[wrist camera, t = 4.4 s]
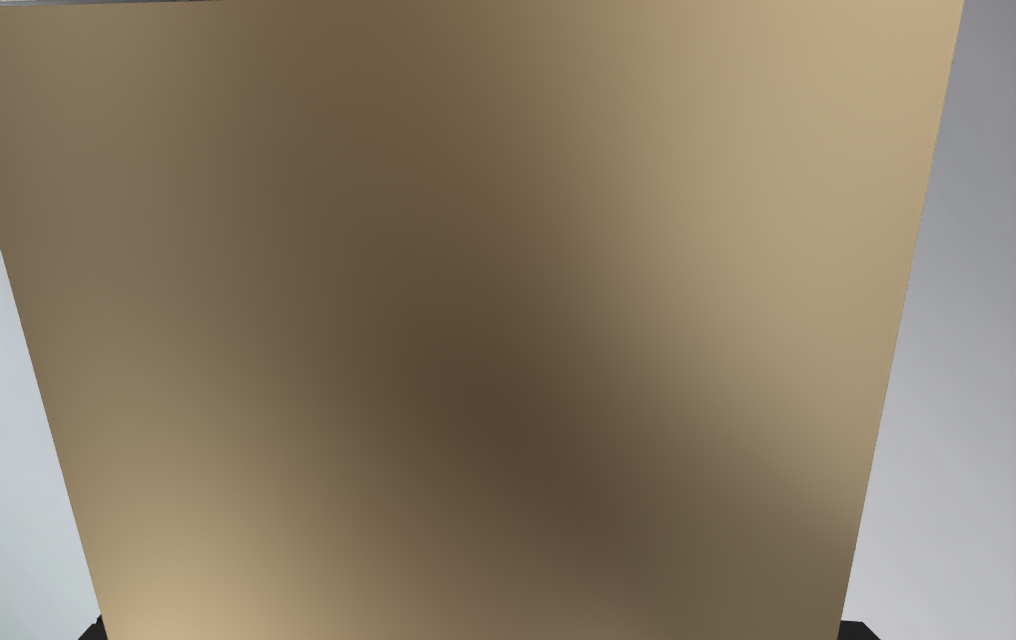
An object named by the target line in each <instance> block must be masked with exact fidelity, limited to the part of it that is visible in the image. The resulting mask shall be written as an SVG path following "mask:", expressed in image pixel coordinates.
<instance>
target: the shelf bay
mask: <svg viewBox="0 0 1016 640" xmlns="http://www.w3.org/2000/svg"><path fill="white" fill-rule="evenodd" d="M5 1H35V0H0V2H5Z"/></svg>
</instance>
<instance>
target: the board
mask: <svg viewBox="0 0 1016 640" xmlns="http://www.w3.org/2000/svg"><path fill="white" fill-rule="evenodd" d="M963 5H964V0H217V1H181V2H145V3H108V4H72V5H36V6H0V249H1V252H2V256H3V259H4V263H5V267H6V270H7V274H8V278H9V281H10V285H11V289H12V292H13V296H14V299H15V303H16V307H17V310H18V314H19V318H20V321H21V325H22V328H23V332H24V336H25V339H26V343H27V347H28V350H29V354H30V358H31V361H32V365H33V368H34V372H35V376H36V379H37V383H38V387H39V390H40V394H41V398H42V401H43V405H44V408H45V412H46V416H47V419H48V423H49V427H50V430H51V434H52V437H53V441H54V445H55V448H56V452H57V456H58V459H59V463H60V467H61V470H62V474H63V477H64V481H65V485H66V488H67V492H68V496H69V499H70V503H71V506H72V510H73V514H74V517H75V521H76V525H77V528H78V532H79V536H80V539H81V543H82V546H83V550H84V554H85V557H86V561H87V565H88V568H89V572H90V575H91V579H92V583H93V586H94V590H95V594H96V597H97V601H98V605H99V608H100V612H101V615H102V619H103V623H104V626H105V630H106V634H107V637H108V640H837V637H838V632H839V627H840V622H841V617H842V612H843V607H844V602H845V597H846V592H847V587H848V582H849V577H850V572H851V567H852V562H853V557H854V552H855V547H856V542H857V537H858V532H859V527H860V522H861V517H862V512H863V507H864V502H865V497H866V492H867V486H868V481H869V476H870V471H871V466H872V461H873V456H874V451H875V446H876V441H877V436H878V431H879V426H880V421H881V416H882V411H883V406H884V401H885V396H886V391H887V386H888V381H889V376H890V371H891V366H892V361H893V356H894V351H895V346H896V341H897V336H898V331H899V326H900V321H901V316H902V311H903V306H904V301H905V296H906V291H907V286H908V281H909V276H910V271H911V266H912V261H913V256H914V251H915V246H916V241H917V236H918V231H919V225H920V220H921V215H922V210H923V205H924V200H925V195H926V190H927V185H928V180H929V175H930V170H931V165H932V160H933V155H934V150H935V145H936V140H937V135H938V130H939V125H940V120H941V115H942V110H943V105H944V100H945V95H946V90H947V85H948V80H949V75H950V70H951V65H952V60H953V55H954V50H955V45H956V40H957V35H958V30H959V25H960V20H961V15H962V10H963Z"/></svg>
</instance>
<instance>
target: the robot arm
mask: <svg viewBox="0 0 1016 640" xmlns="http://www.w3.org/2000/svg"><path fill="white" fill-rule="evenodd" d="M78 640H108V637H107V634H106V630H105V626H104V623H103V619H102V615H100V616H99V617H98V618H97V622H96V624H92V625H91V626H90V627H89V628H88V629H87V630H86V631H85V632H84V633H83V635H82V636H81V637H80V638H79V639H78ZM837 640H880V639H879V638H878V637H877V636H876V635H875V634H874V633H873V632H872V631H871V630H870V629H869V628H868V627H867V626H866V625H865V624H864V623H863V622H857V621H843V620H841V622H840V627H839V632H838V637H837Z"/></svg>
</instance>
